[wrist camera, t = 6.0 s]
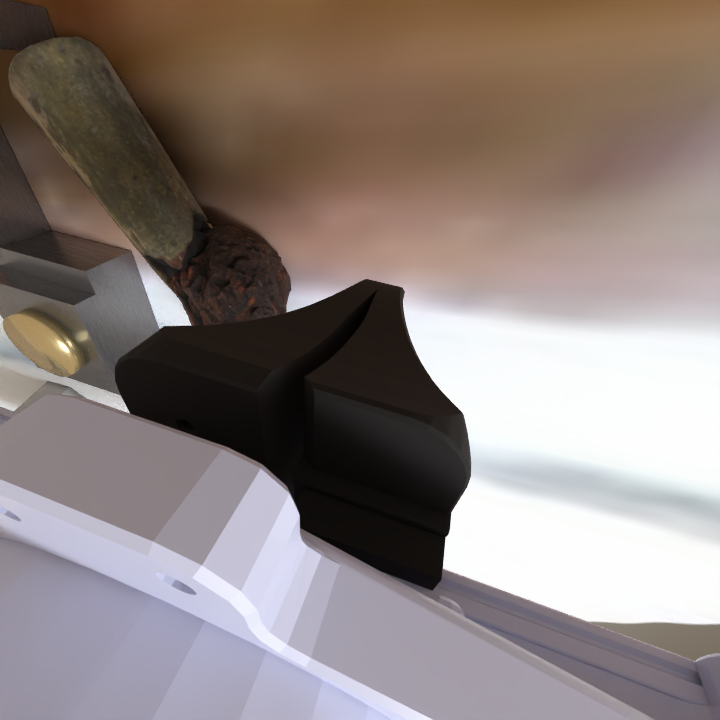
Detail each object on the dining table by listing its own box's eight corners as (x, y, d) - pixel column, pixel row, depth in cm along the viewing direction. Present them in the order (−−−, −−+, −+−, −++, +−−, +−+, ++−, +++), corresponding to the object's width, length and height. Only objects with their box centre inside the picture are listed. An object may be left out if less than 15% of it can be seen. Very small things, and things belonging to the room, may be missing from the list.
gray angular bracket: (168, 356, 29) (110, 404, 24) (93, 333, 30) (24, 375, 26) (45, 7, 15) (-140, -30, 11) (-85, -10, 16) (-299, -49, 12)
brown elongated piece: (81, 105, 18) (-45, 105, 14) (146, 13, 15) (7, -24, 10) (269, 358, 26) (226, 409, 21) (340, 336, 22) (306, 391, 18)
